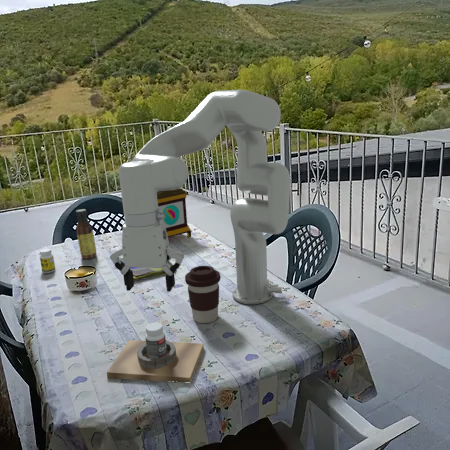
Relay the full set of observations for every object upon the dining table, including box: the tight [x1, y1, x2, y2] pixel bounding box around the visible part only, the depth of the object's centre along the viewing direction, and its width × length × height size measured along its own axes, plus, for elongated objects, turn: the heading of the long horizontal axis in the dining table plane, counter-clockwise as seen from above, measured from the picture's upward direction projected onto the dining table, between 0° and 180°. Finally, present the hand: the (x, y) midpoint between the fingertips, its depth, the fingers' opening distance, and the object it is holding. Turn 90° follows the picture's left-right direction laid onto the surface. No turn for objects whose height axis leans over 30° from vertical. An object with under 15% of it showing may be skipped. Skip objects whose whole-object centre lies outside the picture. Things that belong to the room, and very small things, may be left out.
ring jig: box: [106, 339, 205, 383], centre depth 109 cm, size 20×14×4 cm
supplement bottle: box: [39, 248, 56, 274], centre depth 170 cm, size 5×5×8 cm
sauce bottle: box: [75, 208, 98, 260], centre depth 181 cm, size 6×6×20 cm
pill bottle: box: [144, 321, 167, 359], centre depth 108 cm, size 5×5×8 cm
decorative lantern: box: [157, 187, 192, 239], centre depth 198 cm, size 20×20×30 cm
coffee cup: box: [184, 265, 221, 324], centre depth 128 cm, size 10×10×15 cm
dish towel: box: [119, 257, 178, 282], centre depth 170 cm, size 18×24×3 cm
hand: (150, 288), depth 104 cm, fingers open, 9 cm apart
